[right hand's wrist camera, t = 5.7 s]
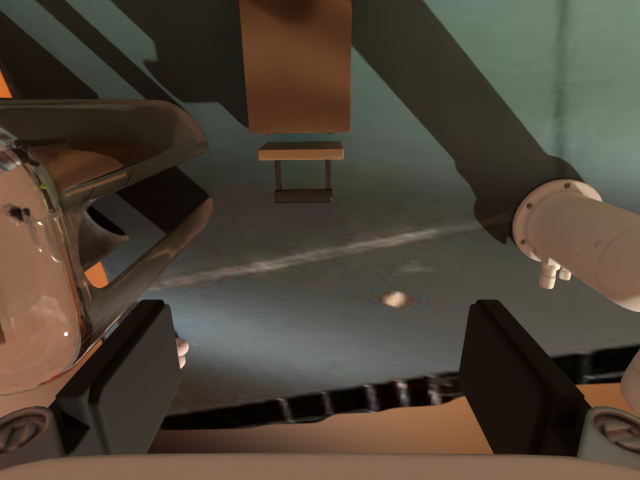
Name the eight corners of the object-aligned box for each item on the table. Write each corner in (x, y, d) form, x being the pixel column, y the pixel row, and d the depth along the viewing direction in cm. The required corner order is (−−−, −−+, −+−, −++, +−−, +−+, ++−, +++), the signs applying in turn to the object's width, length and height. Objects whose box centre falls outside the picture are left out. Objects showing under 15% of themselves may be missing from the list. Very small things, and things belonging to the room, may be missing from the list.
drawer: (340, 194, 52) (343, 210, 44) (270, 195, 52) (261, 211, 45) (341, -30, 43) (345, -58, 35) (256, -29, 43) (242, -57, 35)
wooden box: (344, 126, 50) (349, 132, 40) (262, 127, 50) (249, 133, 40) (346, -74, 42) (353, -126, 32) (249, -72, 42) (228, -123, 33)
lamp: (203, 100, 48) (-579, 88, 6) (217, 241, 56) (-110, 679, 13) (52, 98, 48) (-1729, 77, 6) (85, 240, 56) (-656, 673, 13)
